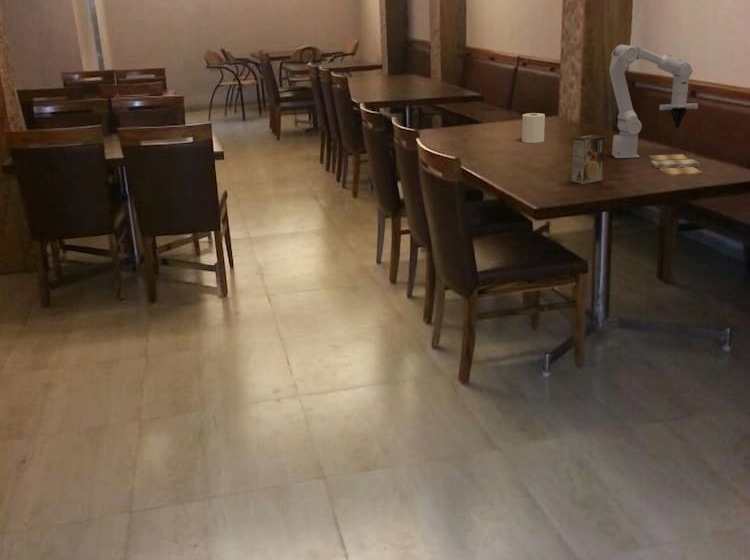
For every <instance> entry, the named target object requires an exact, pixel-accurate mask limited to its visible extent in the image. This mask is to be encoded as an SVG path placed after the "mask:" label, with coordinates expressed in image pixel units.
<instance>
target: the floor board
mask: <svg viewBox="0 0 750 560" xmlns="http://www.w3.org/2000/svg"><path fill="white" fill-rule="evenodd" d="M651 164H652V165H653V166H654V168H655V169H656V168H659V169H663V168H680V167H694V168H700V162H699V161H697V160H695V159H694V158H688V159H666V160H650V165H651ZM652 165H651V166H652ZM653 166H652V167H653Z"/></svg>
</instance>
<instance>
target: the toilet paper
mask: <svg viewBox="0 0 750 560" xmlns="http://www.w3.org/2000/svg"><path fill="white" fill-rule="evenodd" d="M545 121H546V115H545V113H539V112H537V113H536V112H529V113H528V112H527V113H524V114H522V127H521V132H522V134H521V142H523V143H527V144H529V143H530V144H536V143H540V144H541V143H543V142H545V129H546V128H545V124H546V122H545Z"/></svg>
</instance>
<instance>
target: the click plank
mask: <svg viewBox="0 0 750 560" xmlns="http://www.w3.org/2000/svg"><path fill="white" fill-rule="evenodd" d="M648 159H649V161H651V160H666V159H689V157H687V156H685V155H684V154H682V153H681V154H680V153H679V154H658V155H657V154H655V155H654V154H653V155H648Z"/></svg>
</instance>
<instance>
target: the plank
mask: <svg viewBox="0 0 750 560" xmlns="http://www.w3.org/2000/svg"><path fill="white" fill-rule="evenodd" d="M658 171H659V172H660V171H661V173H663V174H664V175H665V176H668V177H673V176H674V177H676V176H689V175H704V171H702V170H700V169H698V168H697V167H684V168H659V169H658Z"/></svg>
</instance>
